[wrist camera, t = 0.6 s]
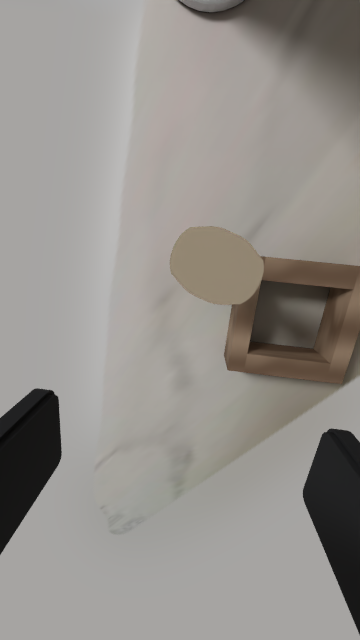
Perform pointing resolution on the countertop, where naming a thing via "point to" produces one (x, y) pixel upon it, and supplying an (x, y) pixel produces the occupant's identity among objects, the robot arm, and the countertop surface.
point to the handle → (216, 265)
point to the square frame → (333, 336)
